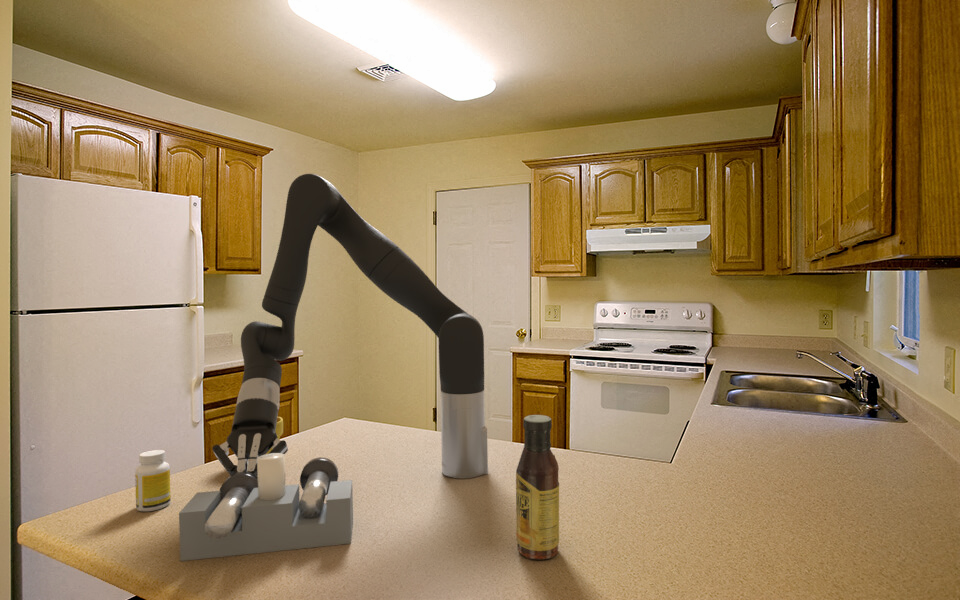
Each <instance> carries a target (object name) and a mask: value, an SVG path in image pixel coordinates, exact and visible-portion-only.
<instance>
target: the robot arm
mask: <svg viewBox="0 0 960 600" xmlns="http://www.w3.org/2000/svg"><path fill="white" fill-rule="evenodd" d="M286 198H287V199H286V204H285V211H284V212H285V213H284V219H283V224H282V225H283V226H282V229H281V235H280V240H279V244H278V250H277V252H276V253H277V254H276V257H275V261H274V264H273V268H272V270H271V273H270V277H269V279H268V283H267V286H266V289H265V293H264V295H263V299H262V303H261V307H262V309H263V310H264V311H265V312H267V313H269V314H270V315H272V316H275V317H277V318H279V319H280V320H281V326H279V325H275V324H274V325H273V324H271V323H267V322H261V321H252V322H251V321H250V323H248V324H246V325H245V327H244V328H243V330H242V332H241V335H240V347H241V352H242V353H241V354H242V358H243V366H244V370H243V375H242V380H241V386H240V389H239V392H238V395H237V400H236V403H235V404H236V405H235V411H234V415H233V419H232V420H233V421H232V425H231V430H230V431H231V432H230V433H229V435H227V438H226V441H225V442H223V443H221V444H214V445H213V446H212V449H211V450H212V452H213V454H214V455H215V457H216V459H217V460H218V461H219V463H220V464H221V465H222V466H223V468H224V469H225V471H226V472H227V473H228V474H229V477H230V476H231V475H233V474H235V473H237V472H250V473H252V474H254V475H256V476H257V477H258V472H257V458H258V457H259V456H262V455H265V454H266V453H267V452H268V451H269V450H270V449H271V448H272V450H271V451H270V452H269V453H268V454H270V453H282V454H284V455H285V454H286V453H288V451H289V449H288V443H287V442H286V440H281V439H280V440H279V439H278V437H277V434H276V424H277V416H278V414H279V410H280V405H281V404H280V398H281V394H280V393H281V392H280V389H281V381H282V374H283V369H282V365H281V364H280V362H281V361H285V360H286V359H288V358H289V357H290V356H291V355H292V354H293V352H294V349H295V341H296V340H295V335H296V334H295V327H296V326H295V323H296V316H297V311H298V307H299V304H300V302H301V301H300V300H301V299H302V298H301V297H302V295H303V293H304V292H303V291H304V288H305V284H306V281H307V274H308V266H309V256H310V250H311V245H312V241H313V238H314V235H315V233H316V230H317V228H318V227H320V228H321V229H322V230H323V231H325V232H326V233H327V234H328V235H330V236H331V237H332V238H333V239H335V240H336V241H337V242H338V243H339V245H341V246H342V247H343V249H344V250H345V251H346V253H347V254H348V256H349V257H350V258H351V260H352V261H353V262H354V264H355V265H356V266H357V268H358V269H359V270H360V271H361V273H363V274H364V276H366V278H368V280H370V282H371V283H372V284H374V285H375V286H376V287H377V288H378V289H379V290H381V292H383V293H384V294H385V295H387V297H389V298H391V300H393V302H394V301H395V302H396V303H397V304H399V305H400V306H402V307H403V308H405V309H407V310H408V311H410V312H411V313H413V314H414V315H415V316H417V318H419V319H420V320H421V321H422V322H423V323H425V325H426V326H427V327H428V328H429V329H430V331H431V332H433V333H434V335H435V336H436V337H437V338H438V363H439V364H438V367H439V368H438V369H439V371H438V372H439V382H440V386H439V387H440V423H441V425H440V427H441V428H440V431H441V439H440V440H441V471H442V474H443V475H444V476H446V477H447V478H448V477H450V478H454V479H471V478H476V477H480V476H482V475H488V474H489V467H488V466H489V463H488V459H489V458H488V455H489V453H488V452H489V451H488V428H487V427H486V422H485V421H486V418H485V416H486V415H485V413H486V412H485V411H486V410H485V407H486V406H485V341H484V340H485V338H484V331H483V326H482V325H481V324H480V322H479V321H478V319H477V318H475V317H474V316H472V315H471V314H469V313H468V312H467V311H465V310H464V309H462V308H461V307H460V306H458V304H456V303H455V302H454V301H452V300H451V299H450V298H449V297H447V296H446V295H445V294H444V293H443V292H442V291H441V290H440V289H439V288H438V287H437V286H436V285H435V283H434V282H433V281H432V280H431V279H430V278H429V276H428V275H427V274H426V273H425V272H424V270H423V269H422V268H421V267H420V266H419V265H418V264H417V263H416V262H415V261H414V260H413V259H412V258H411V256H409V255H408V254H407V253H406V252H405V251H403V250H402V249H401V247H399V245H397V244H396V243H395V242H394V241H392V240H391V239H390V238H389V237H388V236H386V235H385V234H384V233H382V232H381V231H380V230H378V229H377V228H375V227H374V226H373V225H372V224H370V223H369V222H367V221H366V220H365V219H364V218H363V217H362V216H361V215H360V214H359V213H358V212H357V211H356V210H355V209H354V208H353V207H352V206H351V204H350V203H349V201H348V200H346V198H345V197H344V196H343V195H342V193H340V191H339V190H338V189H337V187H335V185H333V184H332V182H329V180H327V179H325V178H324V177H322V176H320V175H318V174H316V173H315V174H314V173H304V174H302V175H299V176H297V177H296V178H295V179H293V181H292V182H291V184H290V186H289V188H288V192H287V197H286ZM278 361H279V362H278ZM278 417H279V416H278ZM272 446H273V447H272ZM229 450H231V451H232V452H233V454H234V455H235V457H236V459H237V463H236V465H235V464H234V462H233V461H232V460H231V459H230V458H229V454H230V451H229ZM249 459H250V460H249Z"/></svg>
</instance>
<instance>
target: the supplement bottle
mask: <svg viewBox="0 0 960 600" xmlns="http://www.w3.org/2000/svg"><path fill="white" fill-rule="evenodd" d="M138 456H139V458H138V459H139V464H140V465H138V466H137V467H136V468H135V471H134V473H135V476H134V477H135V479H134V481H135V482H134V483H135V508H136V510H137V511H139V512H153V511H158V510H161V509H164V508H165V507H168V506H169V505H170V504H171V469H170V464H169V463H168V462H166V461H165V459H166V451H165V450H163V449H155V450H154V449H152V450H148V451H145V452H141V453H140V454H139V455H138Z"/></svg>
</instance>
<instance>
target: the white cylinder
mask: <svg viewBox="0 0 960 600" xmlns="http://www.w3.org/2000/svg"><path fill="white" fill-rule="evenodd" d="M257 472H258V475H257V477H258V498H259V499H260V500H274V499H278V498H281V497H283V496H284V495H285V494H286V486H285V485H286V455H285V454H282V453H270V454H265V455H262V456H259V457H258V458H257Z"/></svg>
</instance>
